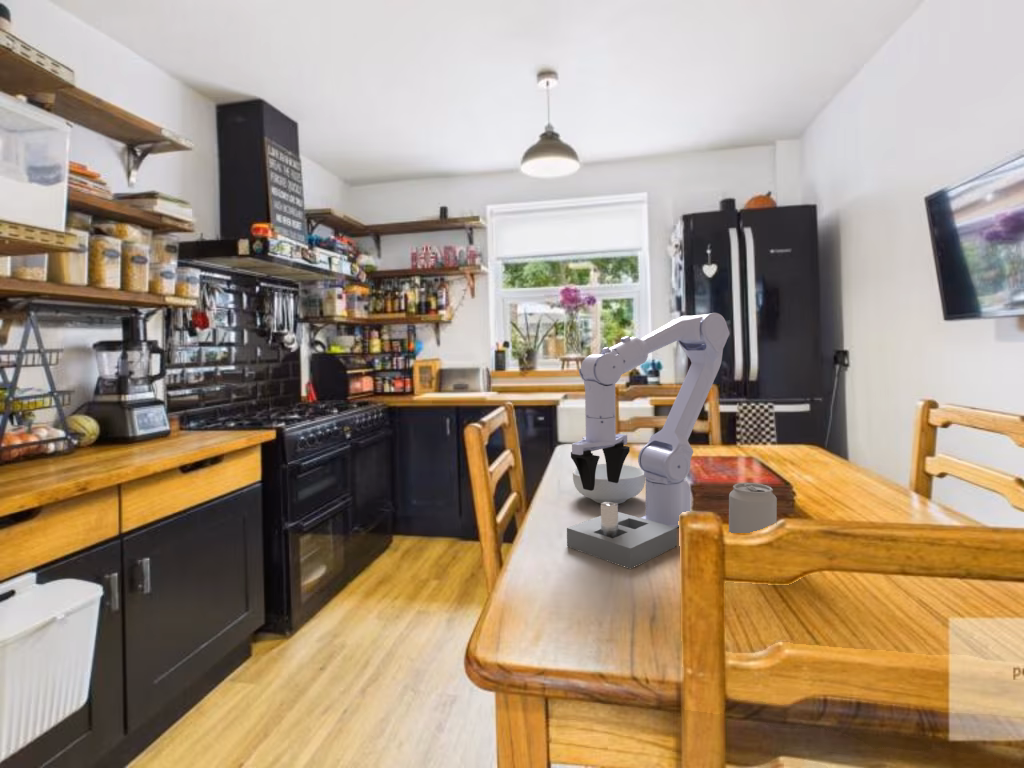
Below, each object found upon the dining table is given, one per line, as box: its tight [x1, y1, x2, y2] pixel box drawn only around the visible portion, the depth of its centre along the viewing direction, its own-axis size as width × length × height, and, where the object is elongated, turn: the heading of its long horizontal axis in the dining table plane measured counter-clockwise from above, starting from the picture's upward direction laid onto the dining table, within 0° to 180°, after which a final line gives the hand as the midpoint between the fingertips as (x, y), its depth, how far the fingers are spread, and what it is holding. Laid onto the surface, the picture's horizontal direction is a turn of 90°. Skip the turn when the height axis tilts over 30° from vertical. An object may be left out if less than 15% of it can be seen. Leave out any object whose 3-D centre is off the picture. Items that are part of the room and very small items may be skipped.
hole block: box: [566, 511, 678, 569], centre depth 97 cm, size 14×14×4 cm
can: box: [728, 482, 778, 533], centre depth 92 cm, size 8×8×12 cm
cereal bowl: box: [572, 463, 646, 505], centre depth 127 cm, size 17×17×7 cm
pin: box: [600, 502, 619, 538], centre depth 95 cm, size 3×3×8 cm
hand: (601, 485), depth 104 cm, fingers open, 7 cm apart
